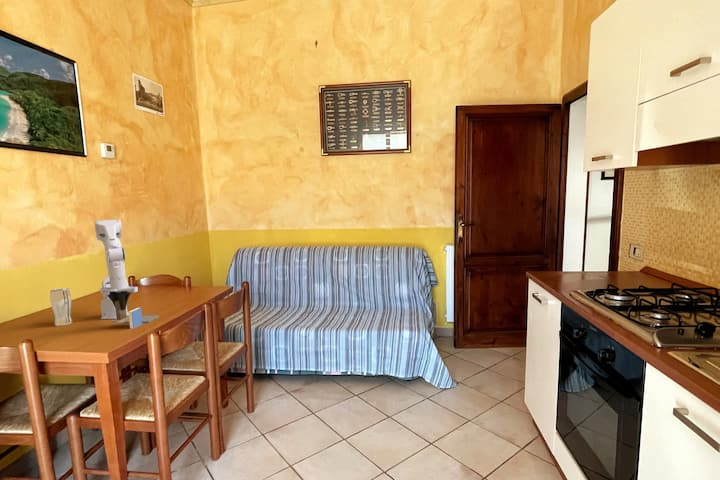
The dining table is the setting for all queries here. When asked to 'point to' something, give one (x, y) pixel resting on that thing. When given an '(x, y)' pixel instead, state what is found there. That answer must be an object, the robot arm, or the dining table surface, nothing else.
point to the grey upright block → (120, 314)
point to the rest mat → (145, 319)
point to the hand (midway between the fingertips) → (121, 309)
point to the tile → (135, 318)
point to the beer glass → (61, 306)
